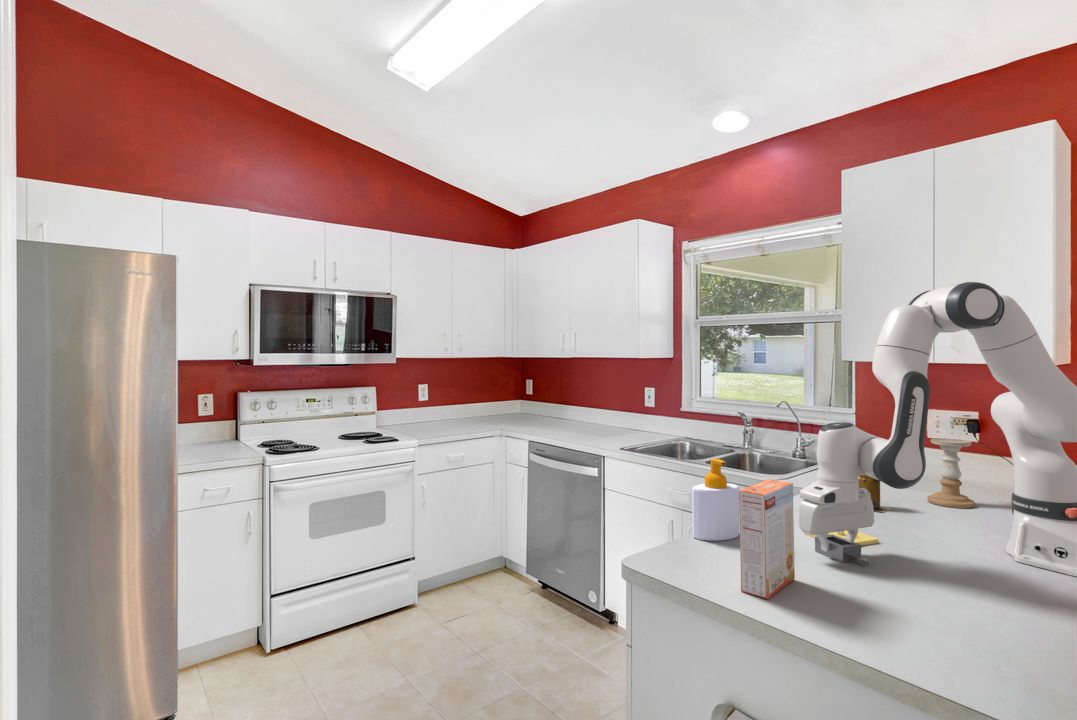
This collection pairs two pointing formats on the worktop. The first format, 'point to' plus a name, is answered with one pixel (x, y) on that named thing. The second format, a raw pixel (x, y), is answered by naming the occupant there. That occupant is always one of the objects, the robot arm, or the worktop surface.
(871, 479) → the condiment
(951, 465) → the candle holder
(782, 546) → the cracker box
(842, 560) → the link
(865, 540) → the keeper
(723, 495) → the soap bottle
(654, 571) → the worktop surface
